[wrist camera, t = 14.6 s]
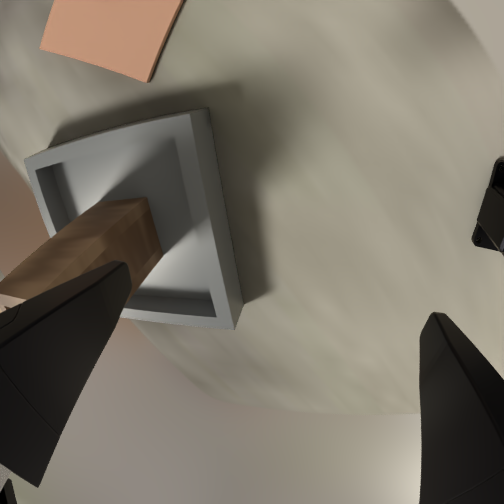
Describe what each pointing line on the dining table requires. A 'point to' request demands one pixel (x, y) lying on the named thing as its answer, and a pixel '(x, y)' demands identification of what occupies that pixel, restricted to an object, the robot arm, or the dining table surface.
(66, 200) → the tray
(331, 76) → the dining table surface
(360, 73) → the dining table surface
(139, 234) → the sleeve
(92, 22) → the pink square mat
